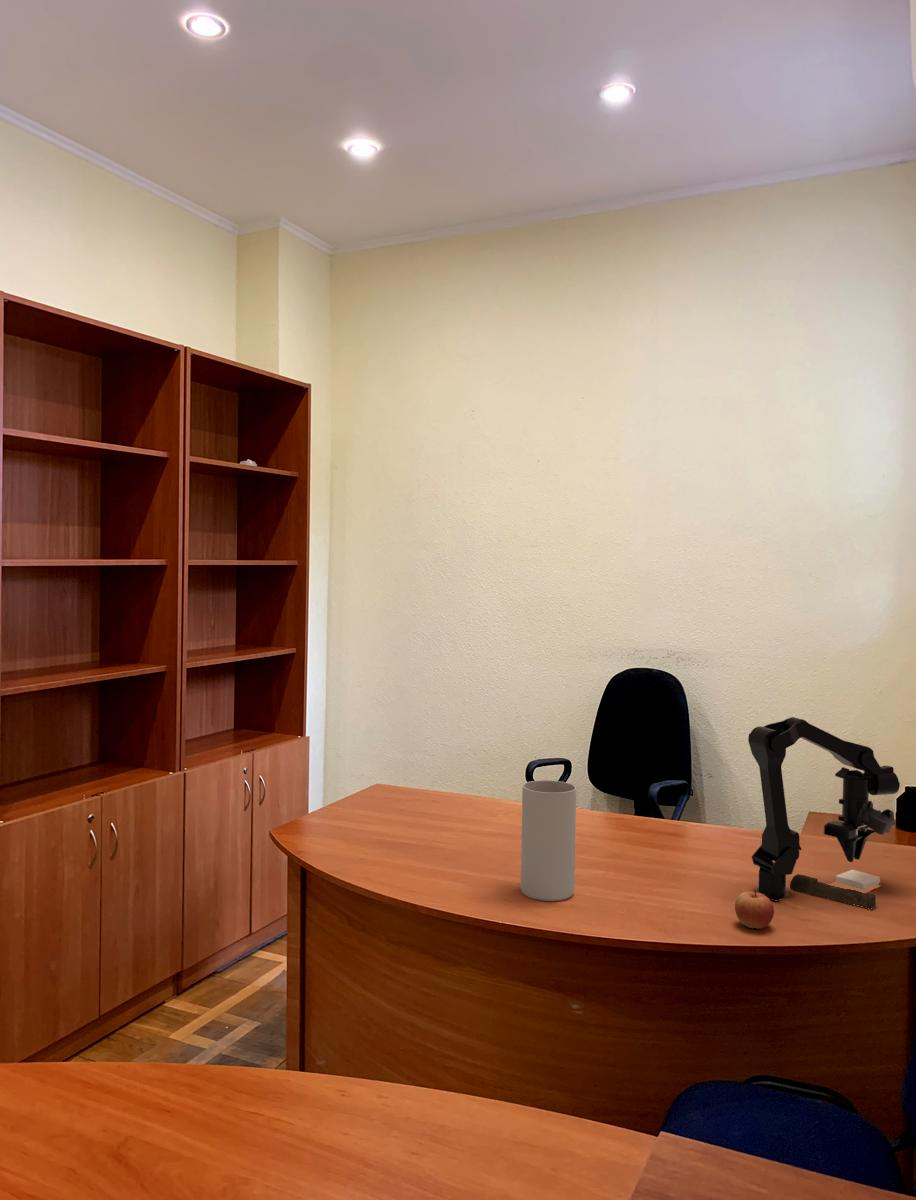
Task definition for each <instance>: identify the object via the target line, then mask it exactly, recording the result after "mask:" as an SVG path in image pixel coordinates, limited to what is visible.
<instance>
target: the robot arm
mask: <svg viewBox="0 0 916 1200" xmlns="http://www.w3.org/2000/svg"><path fill="white" fill-rule="evenodd" d="M747 739H748V745H749V747H750V748H749V749H750V751H751V754H752V756H753V759H754V760H755V761H756V763H757V765H758V767H759V773H760V775H759V776H760V784H761V791H762V792H761V794H762V800H763V808H764V809H763V810H764V816H765V817H764V818H765V828H764V830H763V832H762V834H761V844H760V846H759V847H758V848H757V849H756V850H755V852H753V854H752V855H751V859H752V860H751V861H752V863H753V865H755V866H757V867H759V869H758V888H757V890H756V892H758V893H761V894H763V895H765V896H767V897H768V898H769V899H773V900H779V899H781V900H782V899H784V898H786V897H790V896H791V895H792V894H791V893H789V892H786V889H787V888H786V885H787V884H786V881H787V876H788V875H792V874H793V872H794V868H795V867H796V864H797V860H798V859H800V851H802V847H801V844H800V834H799V832H798V831H795V830H793V829H791V828H790V825H789V822H788V821H789V819H788V813H787V804H786V796H785V786H784V779H783V772H782V771H783V770H782V766H783V762H784V761H785V758H786V755H787V748H789V747H791V746H793V745H795V744H796V743H797V741H798V740H799V739H803V740H805V741H806V742H809V743H810V744H812V745H814V746H817V747H818V748H821V749H823V750H825V751H826V752H828V753H830V754H831V755H832V756H833V758H835V759H836V760H837V761H838V762H839V763H840V764H842V765H844V766H848V767H850V768H854V770H853V769H852V770H851V769H849V768H847V767H843V766H842V767H841V768H840V769H839V770H838V771H837V772H836V773H835V774H834V777H837V778H840V779H842V798H839V799H838V804H840V805H841V810H842V811H841V815H838V818H837V820H832V821H828V822H827V823H826V824H824V825H823V835H826V836H829V837H830V836H831V837H834V838H836V840H837V841H838V843H839V844H840V846H841V849H842V851H843V853H844V855H845V858H846V860H847V862H850V863H853V862H854V859H855V860H857V861H858V860H861V856H862V853H863V850H864V848H865V846H866V843H867V840H868V838H869V837H870V836H872V835H874V834H875V833H877V834H878V835H884V834H888V833H889V832H890V830H891V828H892V826H895V824H896V822H895V820H896V819H895V815H894V814H895V812H894V811H892V810H891V809H889V808H886V809H883V811H881V810H877V809H875V808H874V804H873V802H872V800H869V799H870V798H869V794H870V795H872V796H884V795H896V794H897V793H898V791H899V790H900V786H901V784H900V783H901V782H900V781H899V777H898V776H897V774H896V773H895V772H894V771H895V770H894V769H895V768H894V766H890V765H882V766H881V765H880V763H879V762H878V761H877V759H876V757H875V754H874V750H873V749H872V748H871V747H869V746H866V745H861V744H858V743H855V742H851V741H847V740H844V739H841V738H839V737H837V736H836V735H834V734H831V733H829V732H827V731H825V730H824V729H821V728H819V727H817V726H815V725H813V724H811V723H809V722H807V720H805V719H802V718H798V717H794V716H791V717H789V718H786V719H784V720H781V721H777V722H773V723H769V724H768V723H767V724H766V725H763V726H761V725H760V726H756V727H754V728H753V729H752V730H751V732H750V733H748V738H747ZM862 771H863V772H862ZM752 892H755V891H754V890H753V891H752ZM773 900H772V901H773Z"/></svg>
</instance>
